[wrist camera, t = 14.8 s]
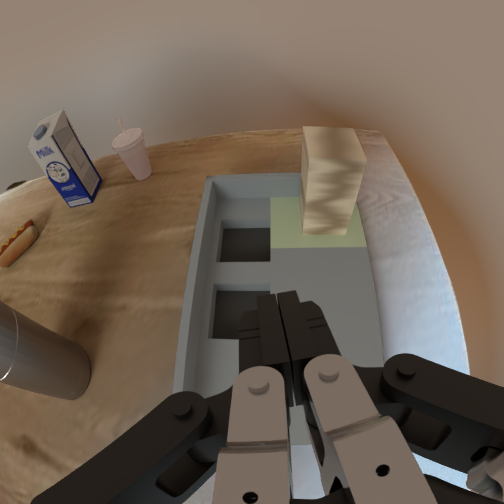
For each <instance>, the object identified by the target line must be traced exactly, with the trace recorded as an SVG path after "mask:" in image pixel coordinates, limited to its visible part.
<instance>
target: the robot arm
mask: <svg viewBox="0 0 504 504" xmlns="http://www.w3.org/2000/svg"><path fill="white" fill-rule="evenodd" d="M256 300H257V310H252V311H245V312H244V313H243V314H242V316H241V318H240V319H239V375H238V376H237V377H236V379H235V381H234V383H233V385H232V386H231V387H230V388H229V389H227V390H225V391H224V392H222V393H219V394H216V395H213V396H210V397H208V398H203V397H202V396H201V395H200V394H198V393H195V392H191V391H182V392H177V393H175V394H172V395H170V396H169V397H167V398H166V399H165V400H164V401H163V402H161V403H160V404H159V405H158V406H157V407H156V408H154V409H153V410H152V411H151V412H150V413H148V414H147V415H146V416H145V417H144V418H142V419H141V420H140V421H139V422H137V423H136V424H135V425H134V426H132V427H131V428H130V429H129V430H127V431H126V432H125V433H124V434H122V435H121V436H120V437H119V438H117V439H116V440H115V441H114V442H112V443H111V444H110V445H108V446H107V447H106V448H104V449H103V450H102V451H101V452H99V453H98V454H97V455H95V456H94V457H93V458H91V459H90V460H88V461H87V462H86V463H84V464H83V465H82V466H80V467H79V468H77V469H76V470H75V471H73V472H72V473H70V474H69V475H68V476H66V477H65V478H63V479H62V480H60V481H59V482H57V483H56V484H54V485H53V486H51V487H50V488H48V489H47V490H45V491H44V492H42V493H41V494H39V495H38V496H36V497H35V498H34V499H33V500H32V502H31V504H182V503H183V502H185V501H186V500H187V499H188V498H189V497H190V496H191V495H192V494H193V493H194V492H195V491H197V490H198V489H199V488H200V487H201V486H202V485H203V484H204V483H205V482H206V481H207V480H208V479H209V478H210V477H211V476H212V475H213V474H214V473H215V472H216V476H215V485H214V493H213V502H212V504H504V387H501V386H498V385H495V384H492V383H489V382H486V381H483V380H480V379H478V378H475V377H472V376H469V375H467V374H464V373H461V372H458V371H456V370H453V369H450V368H448V367H445V366H442V365H440V364H437V363H434V362H432V361H429V360H426V359H424V358H421V357H419V356H416V355H413V354H407V353H404V354H397V355H395V356H393V357H391V358H390V359H388V360H387V361H386V363H385V364H384V367H359V366H356V365H353V364H351V362H350V361H349V360H348V359H346V358H345V357H342V355H341V353H340V351H339V349H338V346H337V344H336V342H335V339H334V337H333V335H332V332H331V330H330V328H329V326H328V323H327V321H326V319H325V317H324V314H323V312H322V310H321V307H319V306H318V305H317V304H316V303H314V302H313V301H312V300H311V301H306V302H300V300H299V297H298V295H297V292H296V290H293V291H287V292H281V293H277V299H276V295H275V294H269V295H262V296H256ZM277 302H278V304H277ZM89 379H90V364H89V360H88V357H87V355H86V353H85V351H84V350H83V348H82V347H81V346H80V345H78V344H77V343H75V342H73V341H70V340H68V339H66V338H64V337H62V336H61V335H59V334H57V333H55V332H53V331H51V330H49V329H47V328H45V327H44V326H42V325H40V324H38V323H36V322H35V321H33V320H31V319H30V318H28V317H26V316H24V315H23V314H21V313H19V312H18V311H16V310H15V309H13V308H11V307H10V306H8V305H7V304H5V303H4V302H2V301H1V300H0V382H2V383H5V384H8V385H11V386H14V387H17V388H21V389H24V390H28V391H32V392H35V393H39V394H44V395H48V396H52V397H56V398H61V399H66V400H74V399H77V398H79V397H80V396H81V395H82V394H83V393H84V392H85V390H86V388H87V386H88V383H89ZM292 388H293V389H292ZM293 393H294V398H295V403H296V406H299V405H303V408H304V412H305V424H306V428H307V431H308V434H309V437H310V440H311V444H312V447H313V450H314V453H315V457H316V460H317V463H318V466H319V470H320V476H321V482H322V486H323V490H324V493H325V496H324V497H322V498H319V499H313V500H312V499H294V495H293V479H292V462H291V444H290V428H289V427H290V424H291V418H290V408H289V407H294V400H293ZM412 452H413V453H415V454H418V455H420V456H422V457H424V458H427V459H429V460H432V461H434V462H437V463H439V464H442V465H444V466H447V467H449V468H452V469H455V470H457V471H460V472H463V473H466V474H468V476H467V481H466V486H467V488H468V489H472V490H473V491H476V492H477V493H479V494H476V493H474V492H471V491H469V490H466V489H463V488H461V487H458V486H456V485H453V484H451V483H448V482H446V481H444V480H441V479H439V478H437V477H434V476H431V475H427V474H423V473H422V471H421V469H420V467H419V465H418V463H417V461H416V459H415V457H414V455H413V454H412Z"/></svg>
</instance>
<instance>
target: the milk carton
mask: <svg viewBox="0 0 504 504" xmlns="http://www.w3.org/2000/svg"><path fill="white" fill-rule="evenodd" d="M28 148H29V150H30V151H31V153H32V154H33V156H34V157H35V159H36V161H37V162H38V163H39V165H40V166H41V168H42V169H43V171H44V172H45V174H46V175H47V177H48V178H49V179H50V181H51V182H52V184H53V185H54V186H55V188H56V189H57V191H58V192H59V193H60V195H61V196H62V197H63V199H64V200H65V201H66V203H67V204H68V205H69V206H70V208H71V207H75V206H79V205H84V204H89V203H93V201H94V198H95V196H96V194H97V191H98V189H99V187H100V185H101V182H102V179H101V177H100V175H99V174H98V172H97V170H96V169H95V167H94V165H93V163H92V162H91V160H90V158H89V157H88V155H87V153H86V151H85V149H84V148H83V146H82V144H81V142H80V140H79V139H78V137H77V135H76V133H75V131H74V129H73V127H72V125H71V123H70V121H69V120H68V118H67V115H66V114H65V111H64V109H62V110H60V111H58V112H56V113H54V114H52V115H50V116H48V117H46V118H44V119H42V120H40V122H39V124H38V126H37V127H36V129H35V131H34V134H33V136H32V138H31V140H30V143H29V145H28Z"/></svg>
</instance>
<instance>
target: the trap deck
mask: <svg viewBox="0 0 504 504" xmlns="http://www.w3.org/2000/svg"><path fill="white" fill-rule="evenodd" d="M300 182H301V173H254V174H233V175H217V176H207V177H206V182H205V186H204V191H203V195H202V200H201V205H200V210H199V215H198V220H197V225H196V230H195V235H194V241H193V246H192V252H191V257H190V263H189V269H188V275H187V281H186V288H185V294H184V301H183V308H182V315H181V322H180V330H179V338H178V346H177V355H176V364H175V373H174V384H173V394H175V393H177V392H182V391H191V392H195V393H198V394H200V395H201V396H202V397H203V398H208V397H210V396H213V395H216V394H219V393H222V392H224V391H225V390H227V389H229V388H230V387H231V386H232V385H233V383H234V381H235V379H236V377H237V376H238V375H239V319H240V318H241V316H242V314H243V313H244V312H245V311H252V310H257V300H256V296H262V295H269V294H275V295H276V299H277V293H281V292H287V291H293V290H296V292H297V295H298V297H299V300H300V302H306V301H311V300H312V301H313V302H314V303H316V304H317V305H318V306H319V307H321V310H322V312H323V314H324V317H325V319H326V321H327V323H328V326H329V328H330V330H331V332H332V335H333V337H334V339H335V342H336V344H337V346H338V349H339V351H340V353H341V355H342V357H345V358H346V359H348V360H349V361H350V362H351V364H353V365H356V366H359V367H384V359H383V347H382V337H381V328H380V320H379V313H378V305H377V299H376V292H375V286H374V280H373V275H372V269H371V264H370V259H369V254H368V249H367V244H366V240H365V235H364V231H363V227H362V223H361V219H360V215H359V211H358V207H357V203H356V202H355V206H354V209H353V212H352V216H351V219H350V222H349V225H348V229H347V232H346V235H302V225H301V214H300V203H299V199H300ZM277 304H278V302H277ZM292 389H293V388H292ZM293 400H294V407H289V408H290V418H291V424H290V427H289V428H290V444H291V445H307V444H311V440H310V437H309V434H308V431H307V428H306V424H305V412H304V408H303V405H299V406H296V403H295V398H294V393H293Z"/></svg>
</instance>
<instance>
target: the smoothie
mask: <svg viewBox="0 0 504 504" xmlns="http://www.w3.org/2000/svg"><path fill="white" fill-rule="evenodd" d="M117 120H118V122H119V125H120V127H121V129H122V133H121V134H119V135H118V136H117V137H116V138H115V139H114V140H113V142H112V147H113V150H114V151H116V152H117V153H118V154H119V156H120V157H121V159H122V160H123V161H124V163H125V164H126V166H127V167H128V168H129V170H130V171H131V173H132V174H133V175H134V177H135V178H136V179H137V180H144V179H146V178H148V177H149V176H150V175H151V173H152V170H151V166H150V162H149V159H148V155H147V151H146V147H145V143H144V139H143V136H144V133H143V132H142V129H141V128H131V129H128V130H126V131H125V129H124V127H123V124H122V122H121V120H120V117H117Z"/></svg>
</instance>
